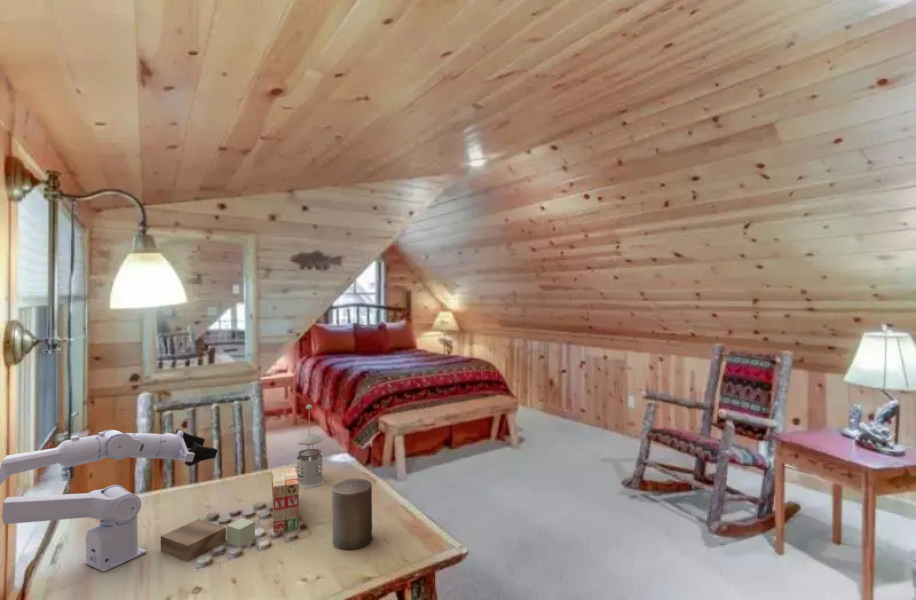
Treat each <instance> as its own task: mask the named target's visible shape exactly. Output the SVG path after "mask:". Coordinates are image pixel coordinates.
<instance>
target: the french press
mask: <svg viewBox="0 0 916 600" xmlns="http://www.w3.org/2000/svg"><path fill="white" fill-rule="evenodd" d="M305 408H306V409H307V410H308V433H307V434H303V435H301V436H300V437H298V438H297V439H296V440H295V441H296V443H297V444H298V445H301V446H302V445H303V446H306V449H301V450H300V451H298V453H297V454H298V456H297V457H296V472H297V477H298V482H299V488H300V489H312V488H317V487H321V486H322V485H324V484H325V483H326V481H325V480H326V479H325V477H323V455H322V454H321V453H322V450H321V449H319V448H314V445H316V444H319V443H321V442H323V437H322V436H320V435H317V434H314V433H313V434H312V433H311V432H310V431H311V429H310V428H311V427H310V425H311V424H310V418H311V417H310V410H311V409H313V405H312V404H307V405H306V407H305ZM309 459H310V460H309ZM323 483H324V484H323Z"/></svg>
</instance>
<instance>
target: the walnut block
mask: <svg viewBox="0 0 916 600" xmlns="http://www.w3.org/2000/svg"><path fill="white" fill-rule="evenodd" d="M225 543H227V526H226V527H225V526H222V525H219V524H216V523H213V522H209V521H206V520H205V519H200V518H197V519H195V520H193V521H191V522H189V523H186V524H184V525H182V526H179V527H177V528H176V529H174V530H171V531H169V532H166V533H165V534H162V535H160V552H161V553H164V554H167V555H170V556H172V557H174V558H176V559H177V558H178V559H180V560H183V561H185V562H191V561H192V560H194V559H196V558H199V556H203V554H206V553H208V552H210V551H212V550H214V549H216V548H217V547H220V546H221V545H223V544H225Z"/></svg>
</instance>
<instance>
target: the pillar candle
mask: <svg viewBox="0 0 916 600" xmlns="http://www.w3.org/2000/svg"><path fill="white" fill-rule="evenodd" d="M372 488H373V487H372V482H371V480H370V481H369V480H368V479H364V478H347V479H342V480H340V481H337V482H336V483H334V484H333V485H332V486H331V495H332V497H331V498H332V499H331V500H332V543H333V546H334V547H335V548H337V549H340V550H344V551H347V550H356V549H362V548H365V547H366V546H368V545H369V544H371V543H372V541H373V537H374V536H373V502H372V501H373V500H372V499H373V496H372V495H373V493H372V490H373V489H372Z"/></svg>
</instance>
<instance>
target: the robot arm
mask: <svg viewBox="0 0 916 600" xmlns="http://www.w3.org/2000/svg"><path fill="white" fill-rule="evenodd" d="M205 441H206V439H205V438H203V437H200V436H196V435H192V434H190V433H187V432H185V431H183V430H181V429H180V428H177V429H175V433H171V432H164V433H163V434H162V433H149V432H136V433H135V432H125V433H123V432H122V431H119V430H115V429H106V430H103V431H101V432H100V431H99V432H97V434H94V435H89V436H83V437H80V436H78V435H72V436H70V438H69V439H67V440H63V441H62V442H61V443H60V444H59V445H58V446H57V447H52V448H48V449H41V450H34V451H27V452H20V453H13V454H8V455H7V456H6V455H5V456H6V457H5V458H4V459H3V461H2V464H1V468H0V486H1V485H2V484H3V483H4V482H5V481H6V480H8V478H9V477H10V476H12V475H15V474H20V473H25V472H28V471H31V470H32V471H33V470H36V469H41V468H46V467H48V466H53V465H57V464H58V465H60V466H62V467H63V468H70V467H74V466H80V465H85V464H88V463H90V464H91V463H93V462H94V463H95V462H99V461H102V460H104V459H106V458H108V459H111V460H114V461H121V460H123V459H126V458H133V459H164V460H165V459H167V460H168V459H170V460H175V461H176V460H177V461H183V462H184V465H186V466H187V467H192V466H194V465H196V464H198V463H200V462H203V461H207V460H212V459H215V458H216V457H217V454H218V451H219V450H218V449H217V448H214V447H211V446H204V443H205ZM6 497H7V498H6V499H5V500H4V502H3V511H2V512H3V513H2V514H3V515H2V519H3V523H4V524H3V525H12V524H23V523H26V524H27V523H36V522H49V521H60V520H61V521H62V520H72V519H73V520H74V519H83V518H89V519H95V520H99V523H98V524H97V525H95V526H93V527H92V528H90V529H88V530H87V532H86V536H85V552H86V557H85V561H84V564H86V565H88V566H90V567H92V568H94V569H97V570H99V571H100V572H107V571H109V570H111V569H113V568H115V567H118V566H119V565H122V564H124V563H127V562H129V561H131V560H132V559H136V558H137V557H139V556H142V555H143V554H146V552H147V549H144V548H142V547H140V546H139V540H138V539H139V538H138V532H139V531H138V514H139V513H140V511H141V508H142V500H141V498H140V497H139V496H138V495H137V494H135V493H132V492H130V491H128V489H126V488H125V487H124V486H122V485H120V484H113V485H109V486H106V487H104V488H102V489H94V490H91V491H89V492H84V493H68V494H67V493H65V494H62V493H61V494H48V495H47V494H46V495H45V494H44V495H28V496H27V495H26V496H24V495H23V496H6Z"/></svg>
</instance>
